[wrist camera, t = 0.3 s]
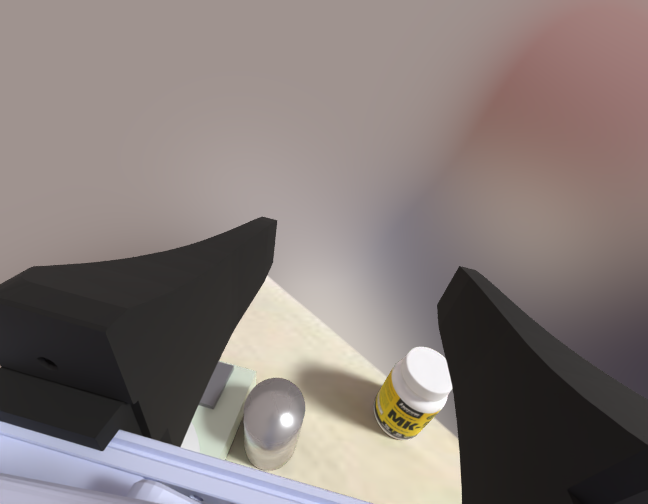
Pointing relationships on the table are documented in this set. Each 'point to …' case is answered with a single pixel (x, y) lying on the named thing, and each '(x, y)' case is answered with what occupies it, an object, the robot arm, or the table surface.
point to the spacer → (272, 423)
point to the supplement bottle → (413, 393)
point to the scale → (220, 411)
